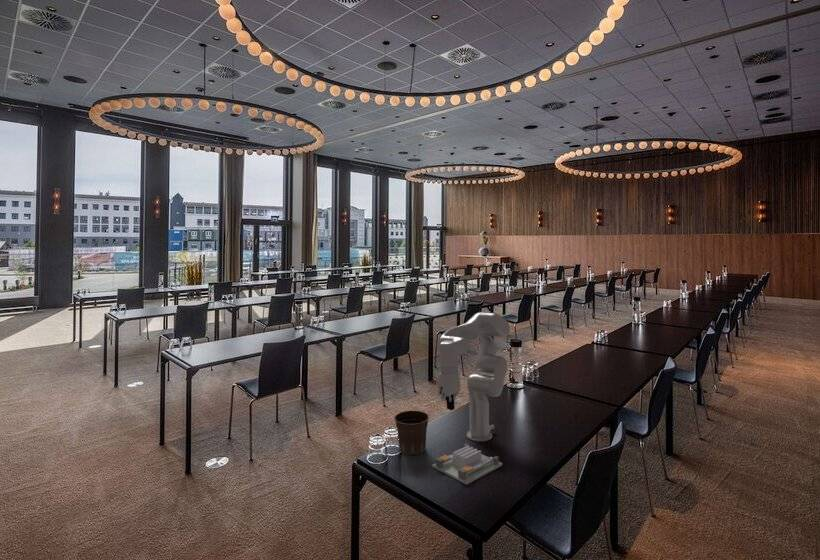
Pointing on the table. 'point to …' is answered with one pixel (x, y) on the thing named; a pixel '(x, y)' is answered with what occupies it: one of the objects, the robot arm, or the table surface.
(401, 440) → the plant pot
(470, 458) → the cooler board
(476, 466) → the strap
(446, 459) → the strap
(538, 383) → the table surface
